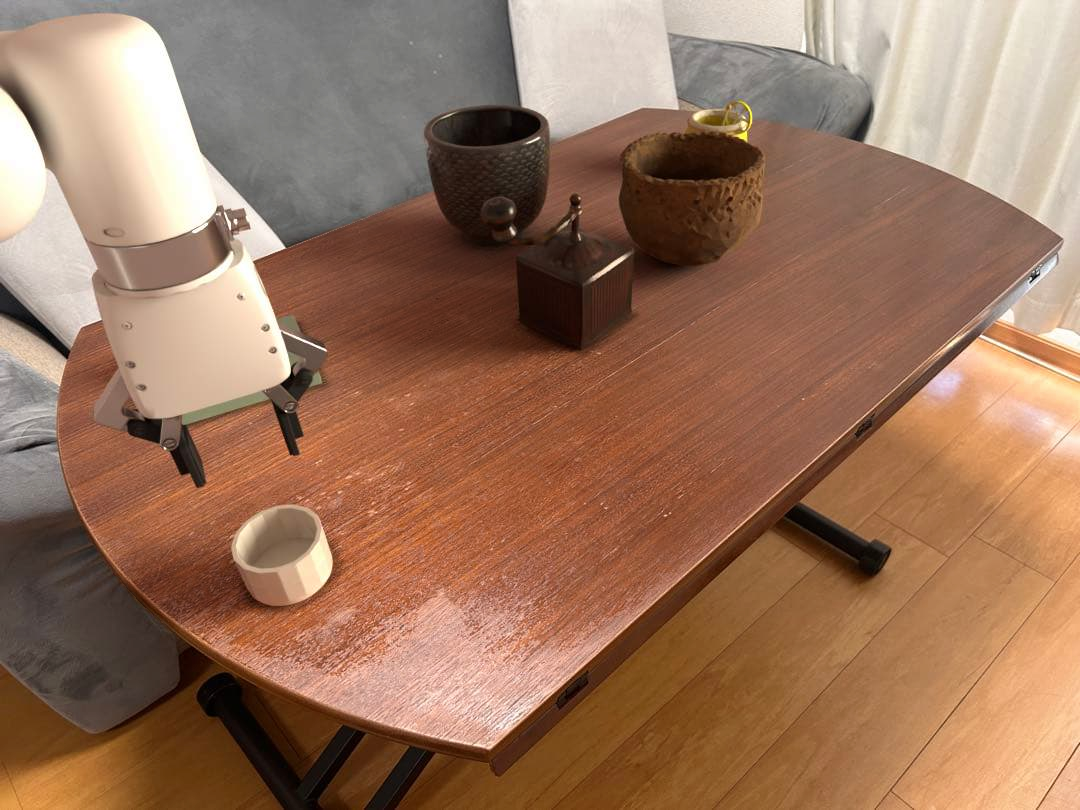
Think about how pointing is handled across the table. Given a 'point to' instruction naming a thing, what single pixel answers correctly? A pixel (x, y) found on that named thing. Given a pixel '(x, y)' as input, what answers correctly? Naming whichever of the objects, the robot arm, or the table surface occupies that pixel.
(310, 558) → the white bowl
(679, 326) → the table surface
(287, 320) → the scale
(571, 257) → the pepper mill
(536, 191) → the planter
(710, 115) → the mug
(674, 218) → the bowl
